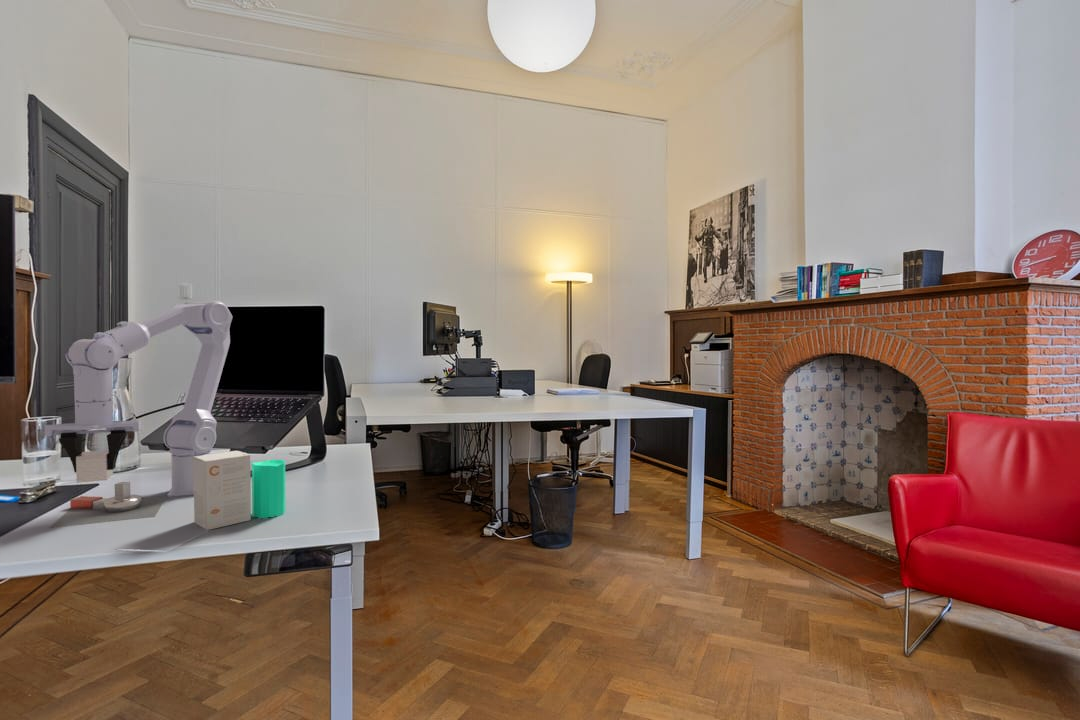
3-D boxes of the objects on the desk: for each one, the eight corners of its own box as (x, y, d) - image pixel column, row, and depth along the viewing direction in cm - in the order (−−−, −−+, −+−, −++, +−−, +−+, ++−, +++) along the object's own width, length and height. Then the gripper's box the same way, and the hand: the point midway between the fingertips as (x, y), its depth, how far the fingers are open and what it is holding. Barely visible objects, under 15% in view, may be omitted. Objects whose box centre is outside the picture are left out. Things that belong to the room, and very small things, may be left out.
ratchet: (148, 504, 115) (147, 479, 115) (124, 513, 109) (124, 487, 109) (89, 502, 115) (88, 478, 115) (62, 511, 109) (62, 485, 109)
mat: (167, 496, 121) (167, 495, 121) (154, 517, 107) (154, 516, 107) (75, 505, 114) (75, 504, 114) (48, 529, 100) (48, 527, 100)
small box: (238, 513, 111) (238, 449, 110) (251, 520, 106) (251, 454, 106) (192, 523, 104) (192, 455, 104) (205, 531, 100) (204, 460, 100)
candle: (252, 520, 107) (251, 459, 106) (252, 511, 112) (252, 453, 112) (285, 516, 110) (285, 456, 109) (284, 507, 115) (284, 451, 114)
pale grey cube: (112, 474, 110) (112, 450, 110) (106, 480, 106) (106, 454, 106) (83, 476, 108) (83, 451, 108) (76, 482, 104) (76, 456, 104)
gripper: (37, 404, 100) (39, 478, 100) (135, 401, 106) (136, 470, 107) (51, 400, 106) (52, 470, 106) (142, 397, 112) (143, 463, 113)
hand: (95, 470), depth 107 cm, fingers closed on pale grey cube, 5 cm apart
